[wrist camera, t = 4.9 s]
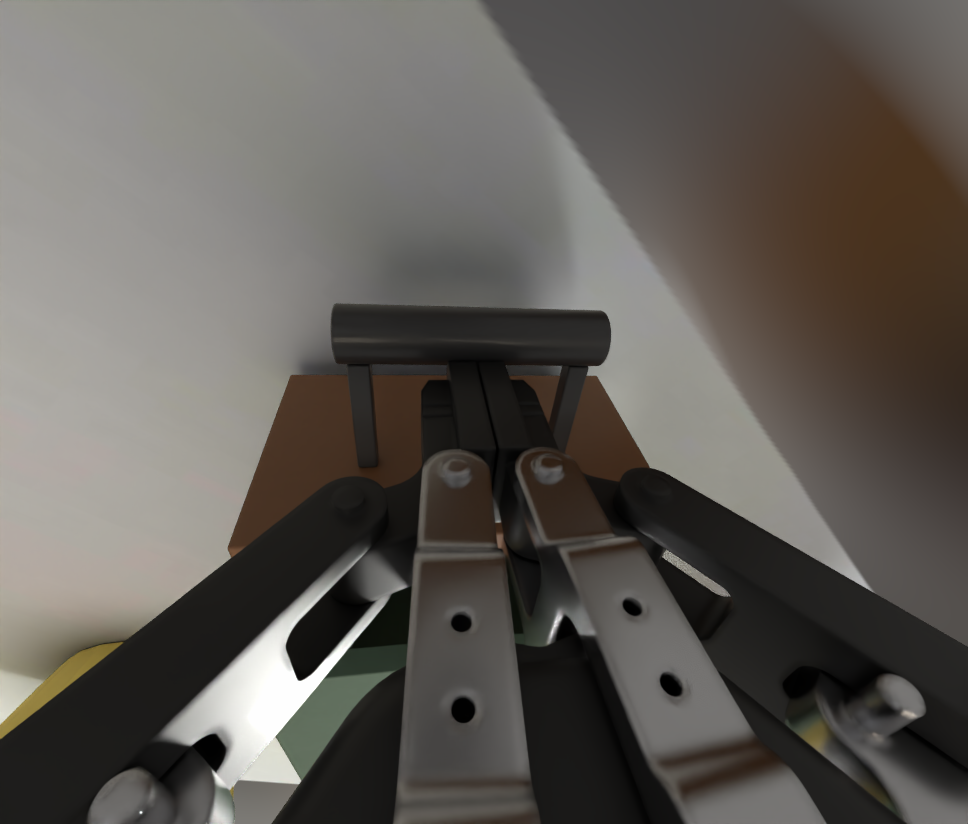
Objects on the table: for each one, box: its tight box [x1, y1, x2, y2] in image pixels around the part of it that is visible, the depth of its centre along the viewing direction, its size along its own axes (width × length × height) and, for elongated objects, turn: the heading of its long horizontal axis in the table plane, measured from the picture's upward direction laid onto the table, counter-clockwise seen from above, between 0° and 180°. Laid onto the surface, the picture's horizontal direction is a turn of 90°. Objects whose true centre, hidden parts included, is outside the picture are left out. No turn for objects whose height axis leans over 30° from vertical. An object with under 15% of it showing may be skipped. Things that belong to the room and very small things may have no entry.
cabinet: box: [276, 633, 524, 781], centre depth 24 cm, size 16×14×10 cm
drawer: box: [228, 303, 650, 649], centre depth 18 cm, size 20×13×8 cm, turn 175°
